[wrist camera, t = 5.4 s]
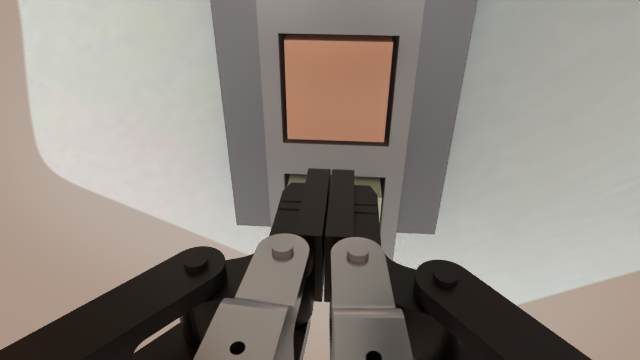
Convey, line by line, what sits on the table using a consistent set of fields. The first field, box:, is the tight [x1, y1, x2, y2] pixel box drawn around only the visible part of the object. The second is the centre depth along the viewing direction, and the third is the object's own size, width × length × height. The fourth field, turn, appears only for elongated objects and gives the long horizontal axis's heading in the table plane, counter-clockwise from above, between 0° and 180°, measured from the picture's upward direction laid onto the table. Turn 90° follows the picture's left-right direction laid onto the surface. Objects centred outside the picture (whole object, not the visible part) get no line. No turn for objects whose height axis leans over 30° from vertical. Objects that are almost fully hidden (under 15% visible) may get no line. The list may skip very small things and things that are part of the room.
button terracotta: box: [284, 33, 393, 142], centre depth 23 cm, size 5×5×3 cm
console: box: [210, 0, 477, 261], centre depth 25 cm, size 15×24×6 cm, turn 0°
